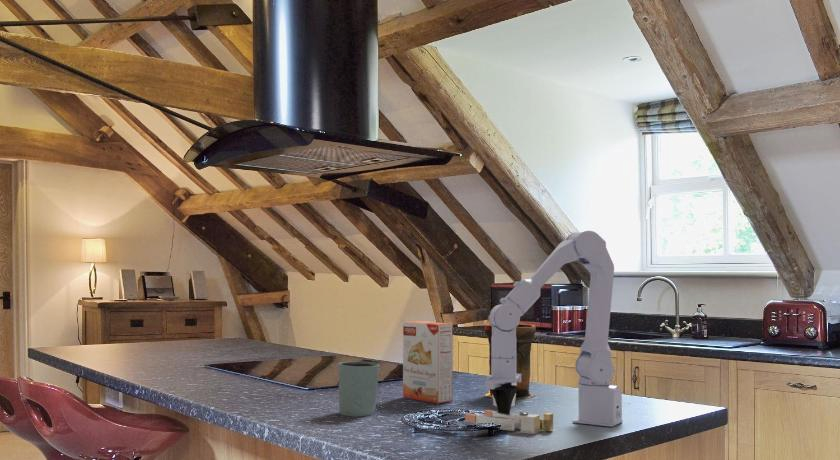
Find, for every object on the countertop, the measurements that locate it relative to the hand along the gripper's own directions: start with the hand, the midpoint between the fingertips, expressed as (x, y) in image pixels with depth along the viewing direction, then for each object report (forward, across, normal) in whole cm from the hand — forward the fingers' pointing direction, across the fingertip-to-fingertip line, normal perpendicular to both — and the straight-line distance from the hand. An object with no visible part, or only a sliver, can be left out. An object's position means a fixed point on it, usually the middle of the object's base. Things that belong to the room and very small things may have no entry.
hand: (503, 417), depth 183 cm
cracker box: (+2, -19, -32) cm, 38 cm away
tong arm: (+1, +2, +1) cm, 2 cm away
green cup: (+2, +8, -35) cm, 36 cm away
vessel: (+2, -39, -18) cm, 43 cm away
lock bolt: (+1, +2, +10) cm, 10 cm away
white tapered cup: (+2, -23, -12) cm, 26 cm away
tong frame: (+1, +6, +2) cm, 6 cm away
